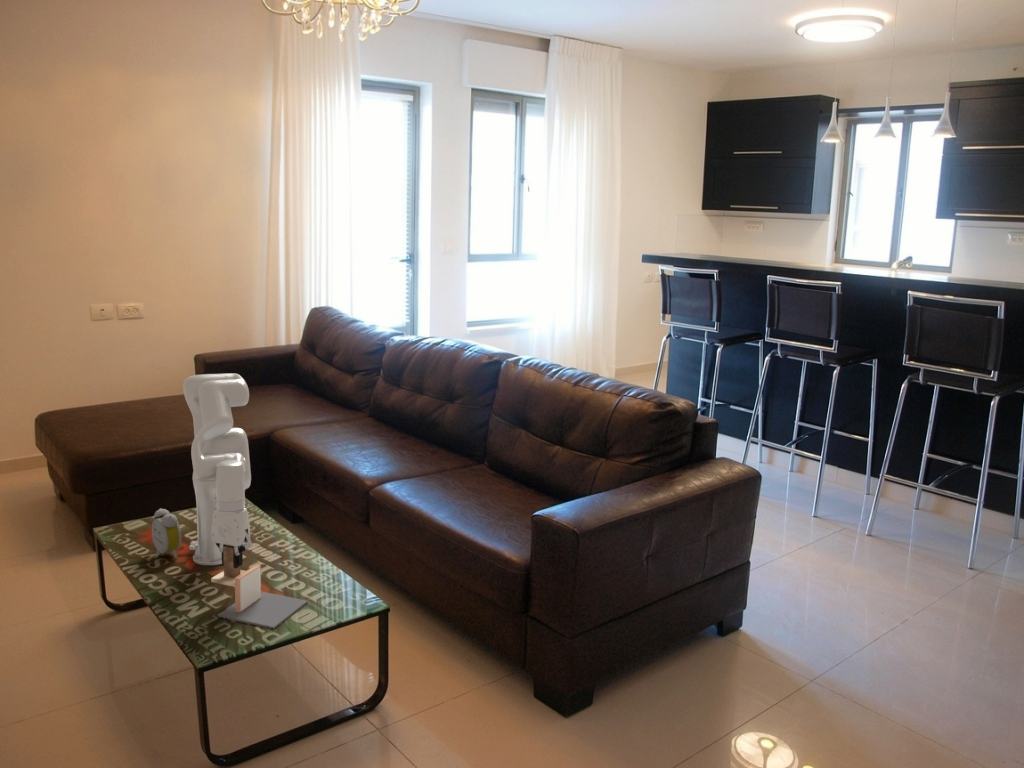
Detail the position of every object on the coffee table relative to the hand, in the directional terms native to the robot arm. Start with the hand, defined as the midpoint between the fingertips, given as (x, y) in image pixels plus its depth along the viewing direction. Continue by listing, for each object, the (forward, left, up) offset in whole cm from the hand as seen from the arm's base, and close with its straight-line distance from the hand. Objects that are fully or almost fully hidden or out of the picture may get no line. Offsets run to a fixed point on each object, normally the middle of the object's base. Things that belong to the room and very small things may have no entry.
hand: (232, 564), depth 235 cm
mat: (+10, 0, -12) cm, 16 cm away
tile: (+5, 0, -6) cm, 8 cm away
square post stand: (0, 0, -4) cm, 4 cm away
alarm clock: (-40, +19, -12) cm, 46 cm away
